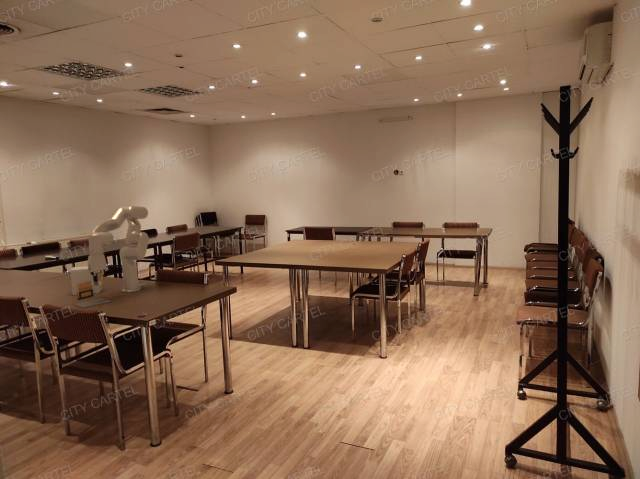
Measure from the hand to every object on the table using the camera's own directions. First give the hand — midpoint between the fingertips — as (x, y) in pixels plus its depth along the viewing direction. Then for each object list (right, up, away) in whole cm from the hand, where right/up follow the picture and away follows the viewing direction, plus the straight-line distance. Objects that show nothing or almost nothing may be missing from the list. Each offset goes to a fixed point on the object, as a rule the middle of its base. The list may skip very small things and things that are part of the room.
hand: (98, 281), depth 295 cm
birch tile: (0, -3, 0) cm, 3 cm away
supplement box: (-22, -11, +30) cm, 39 cm away
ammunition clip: (-15, -13, +14) cm, 24 cm away
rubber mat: (-3, -14, -2) cm, 14 cm away
